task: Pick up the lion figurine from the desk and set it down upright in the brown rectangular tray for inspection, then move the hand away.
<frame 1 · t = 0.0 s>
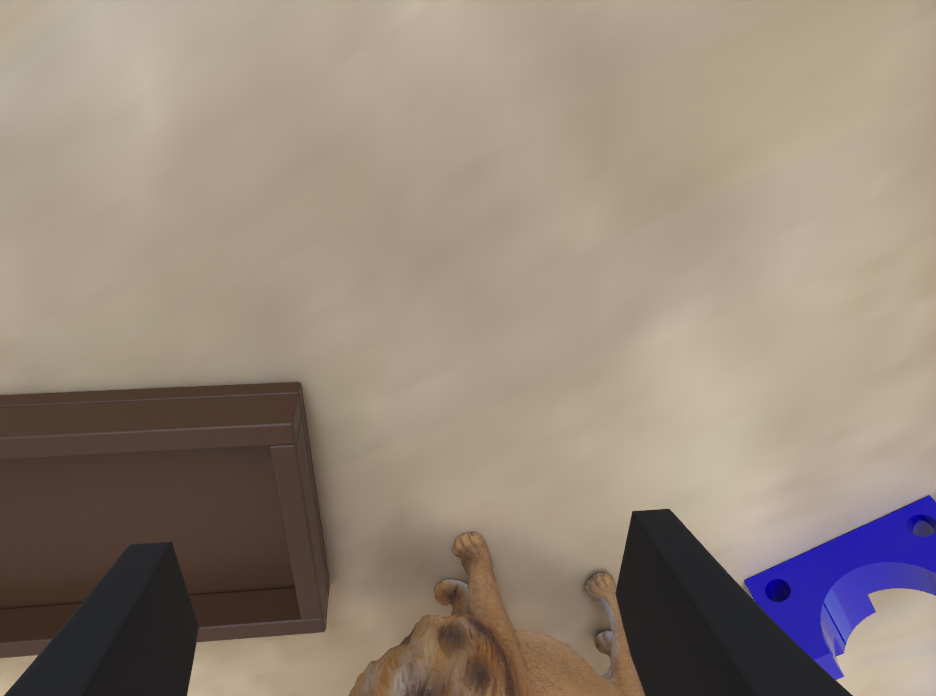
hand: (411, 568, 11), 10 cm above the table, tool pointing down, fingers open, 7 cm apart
lion figurine: (511, 586, 27), on the table
brown rectangular tray: (50, 510, 22), on the table
cable holder: (841, 557, 28), on the table
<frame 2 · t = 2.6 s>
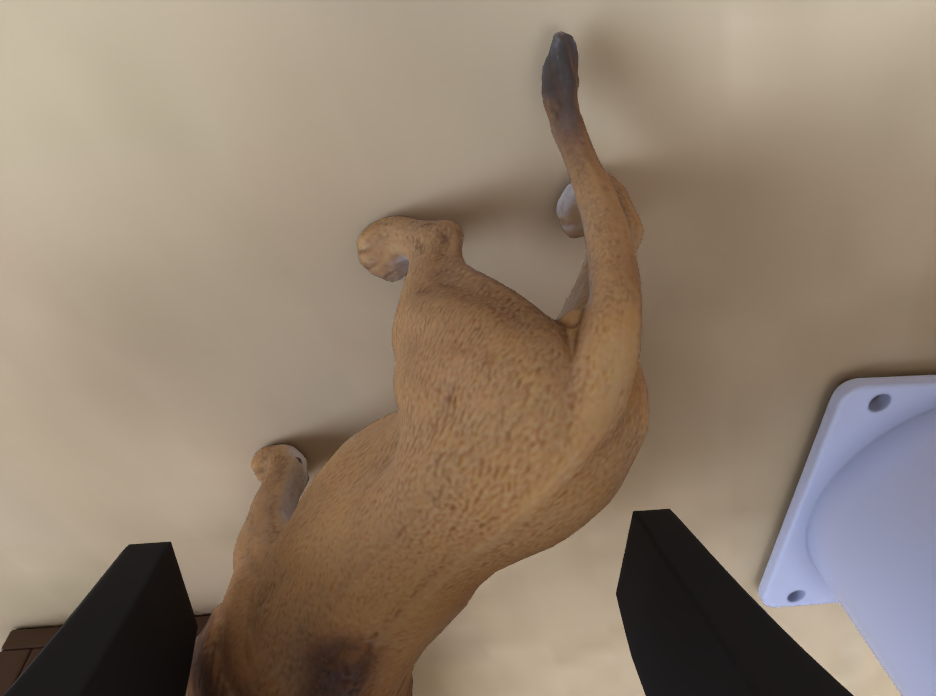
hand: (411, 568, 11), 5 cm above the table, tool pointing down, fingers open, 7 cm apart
lion figurine: (409, 386, 15), on the table, touching gripper
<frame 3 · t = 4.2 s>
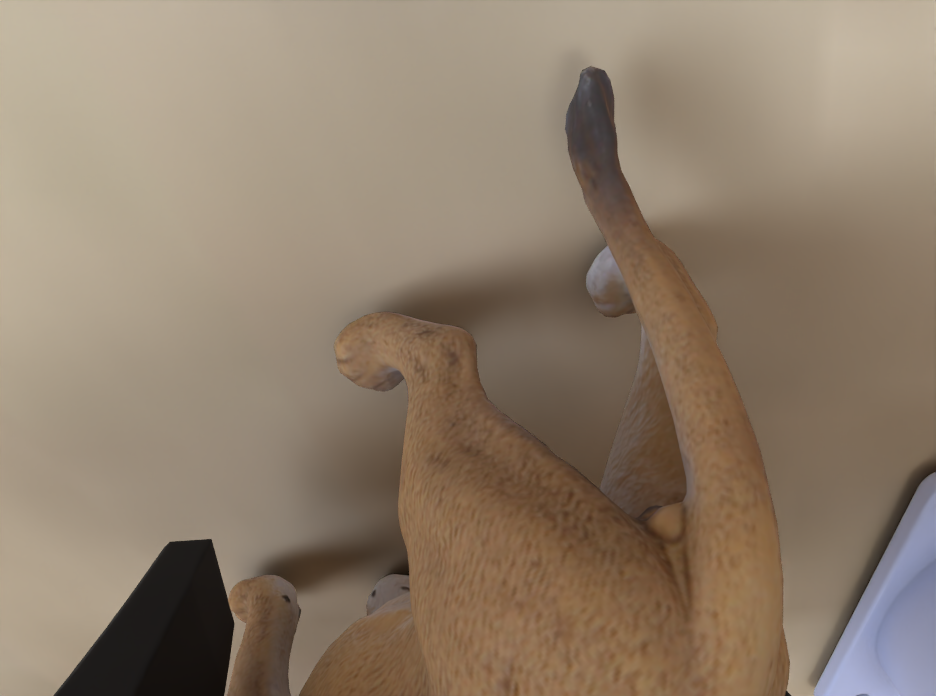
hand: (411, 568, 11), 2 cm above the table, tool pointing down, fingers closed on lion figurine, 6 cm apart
lion figurine: (412, 492, 12), on the table, touching gripper
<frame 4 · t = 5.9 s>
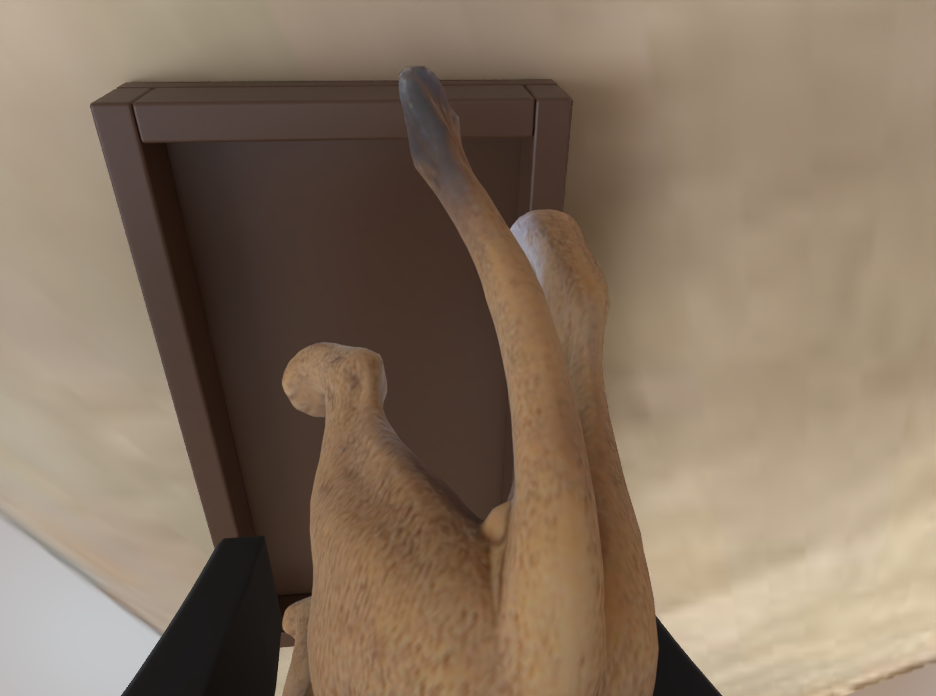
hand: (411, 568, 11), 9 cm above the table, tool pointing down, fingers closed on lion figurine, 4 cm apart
lion figurine: (420, 499, 13), point 7 cm above the table, touching gripper
brown rectangular tray: (370, 394, 20), on the table
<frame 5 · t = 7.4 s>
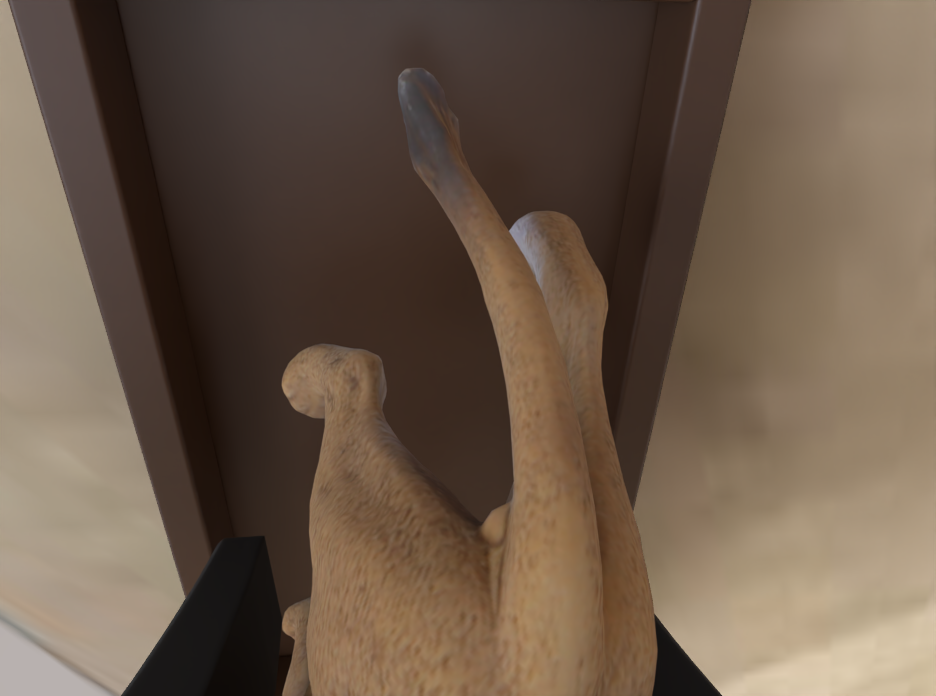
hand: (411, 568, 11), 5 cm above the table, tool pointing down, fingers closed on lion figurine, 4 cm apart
lion figurine: (420, 500, 13), point 3 cm above the table, touching gripper
brown rectangular tray: (405, 399, 15), on the table
when the fingers open (2 cm above the table, at t = 8.5 s): lion figurine stays where it is, resting on brown rectangular tray.
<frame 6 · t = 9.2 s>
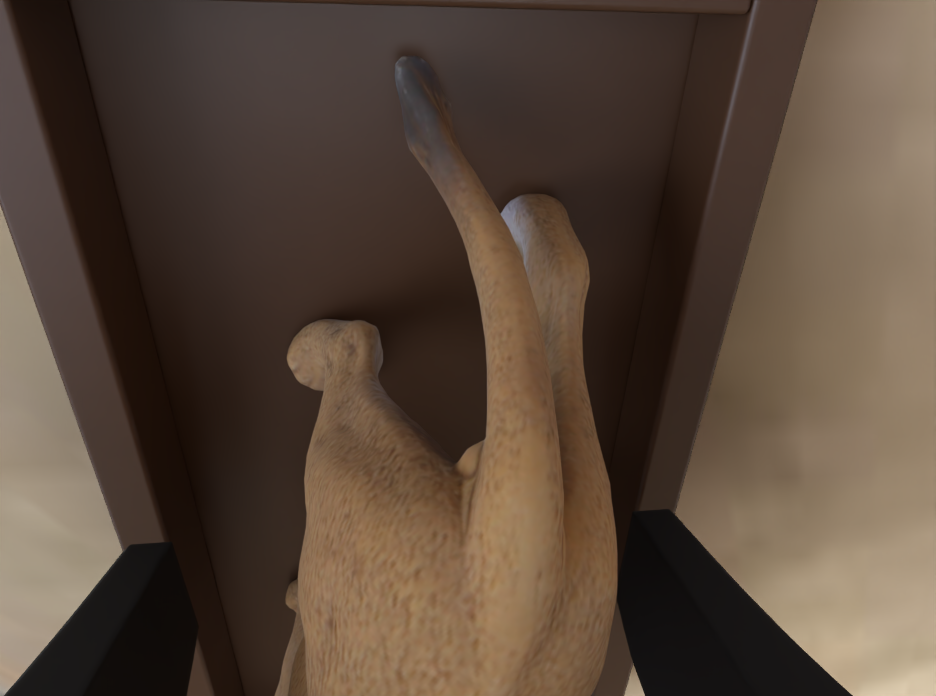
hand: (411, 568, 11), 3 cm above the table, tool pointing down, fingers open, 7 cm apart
lion figurine: (419, 478, 13), resting on brown rectangular tray
brown rectangular tray: (406, 446, 13), on the table
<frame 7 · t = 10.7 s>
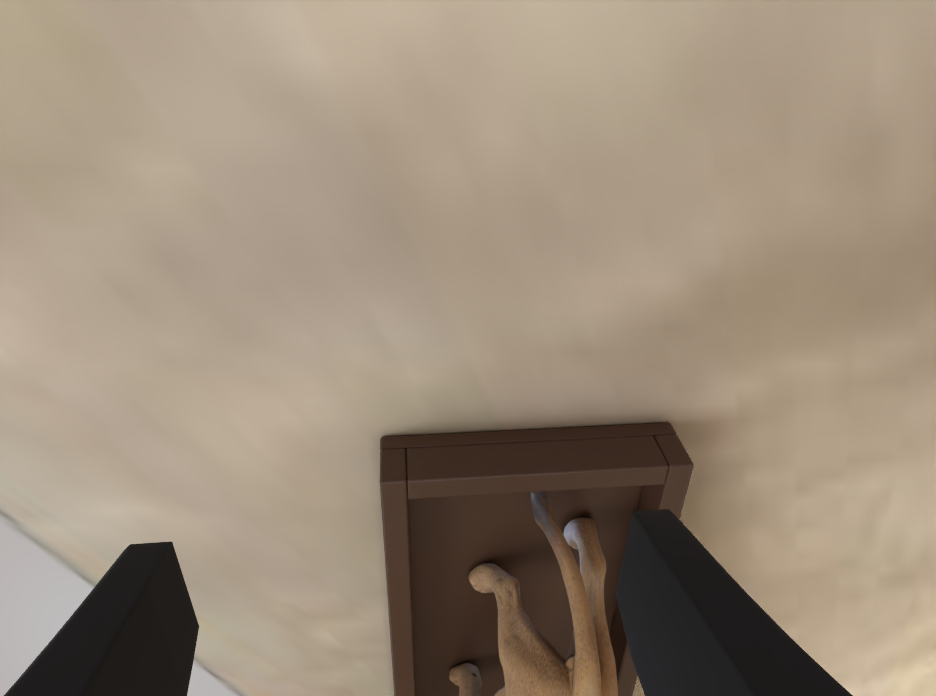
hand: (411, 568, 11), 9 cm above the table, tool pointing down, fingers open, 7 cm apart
lion figurine: (520, 618, 26), resting on brown rectangular tray
brown rectangular tray: (513, 602, 26), on the table
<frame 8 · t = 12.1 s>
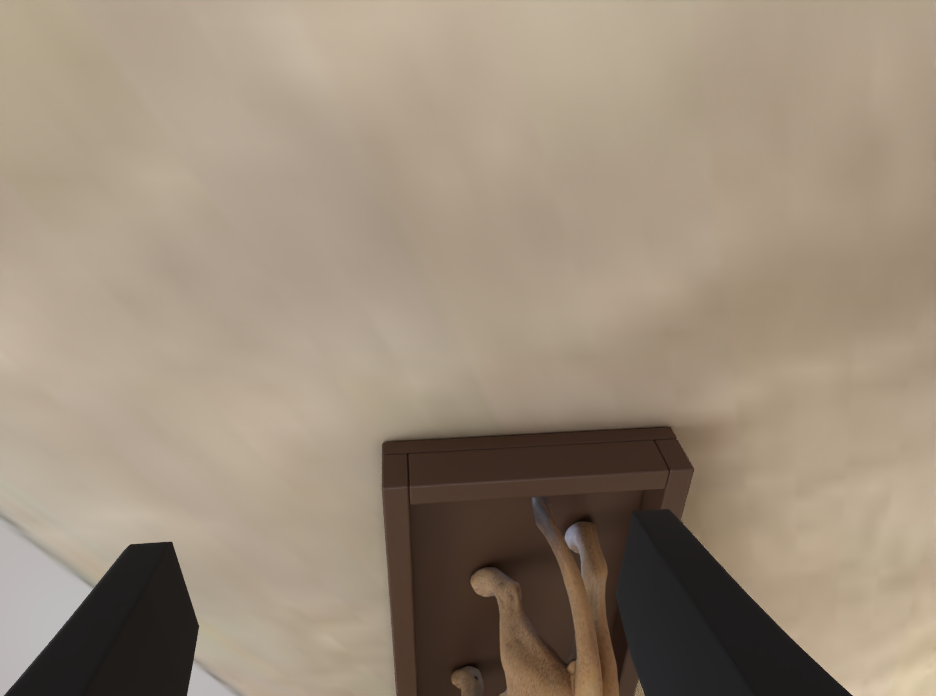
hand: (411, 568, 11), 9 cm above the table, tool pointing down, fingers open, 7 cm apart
lion figurine: (521, 621, 26), resting on brown rectangular tray
brown rectangular tray: (514, 605, 26), on the table
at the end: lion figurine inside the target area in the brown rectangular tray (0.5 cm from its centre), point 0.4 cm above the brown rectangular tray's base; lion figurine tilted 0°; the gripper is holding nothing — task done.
